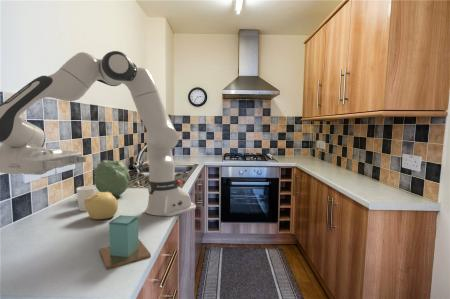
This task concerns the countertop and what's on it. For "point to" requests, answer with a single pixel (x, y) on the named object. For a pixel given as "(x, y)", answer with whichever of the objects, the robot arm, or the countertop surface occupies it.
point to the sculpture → (101, 205)
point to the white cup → (84, 195)
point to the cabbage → (111, 177)
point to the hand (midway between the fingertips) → (74, 161)
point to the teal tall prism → (123, 235)
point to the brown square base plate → (119, 260)
